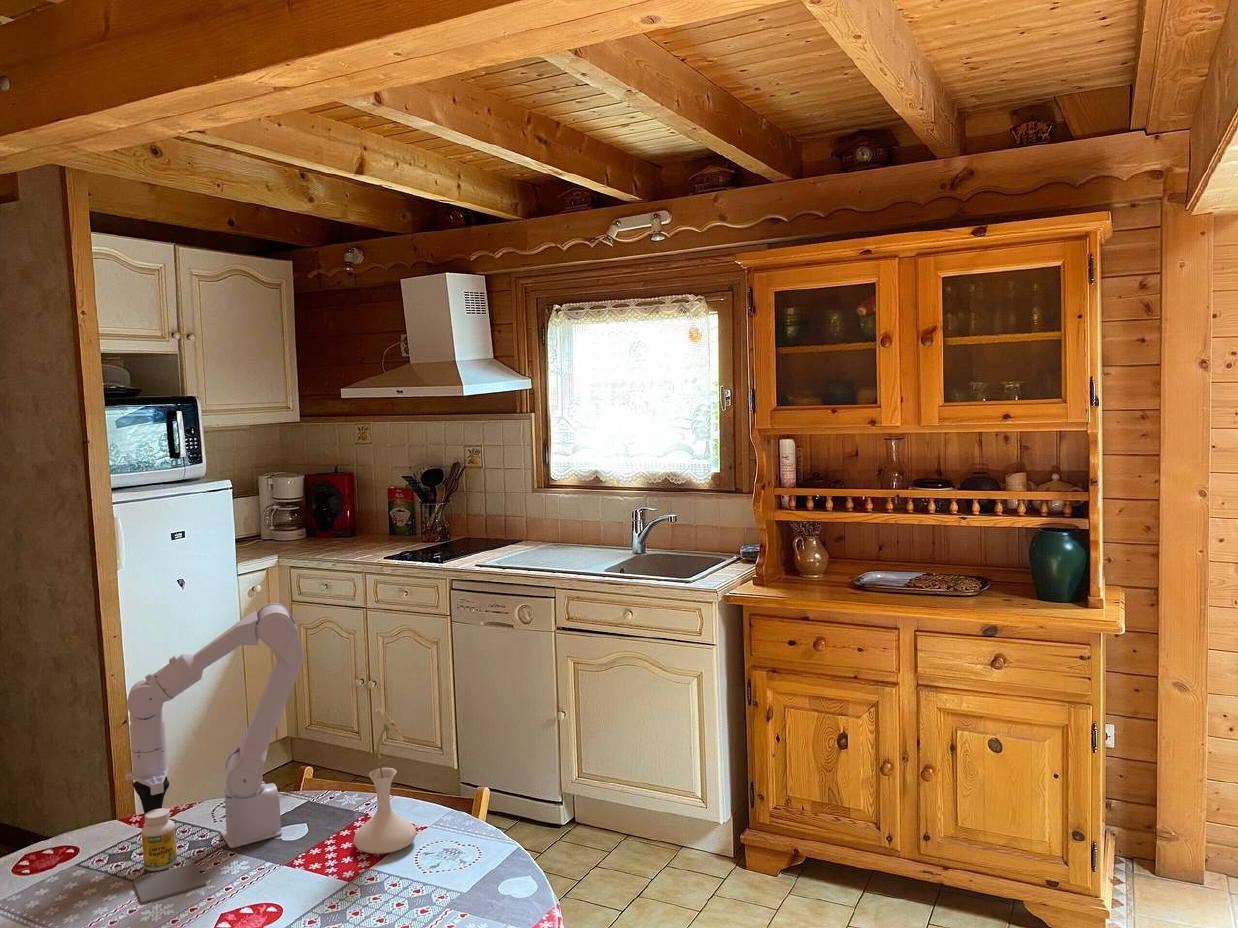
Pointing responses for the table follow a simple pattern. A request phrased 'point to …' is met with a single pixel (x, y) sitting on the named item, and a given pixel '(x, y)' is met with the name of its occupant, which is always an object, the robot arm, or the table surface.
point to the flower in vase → (384, 807)
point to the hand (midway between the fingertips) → (153, 819)
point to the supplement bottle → (158, 840)
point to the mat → (169, 883)
